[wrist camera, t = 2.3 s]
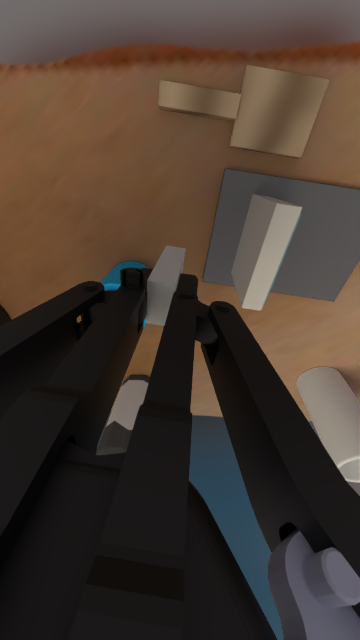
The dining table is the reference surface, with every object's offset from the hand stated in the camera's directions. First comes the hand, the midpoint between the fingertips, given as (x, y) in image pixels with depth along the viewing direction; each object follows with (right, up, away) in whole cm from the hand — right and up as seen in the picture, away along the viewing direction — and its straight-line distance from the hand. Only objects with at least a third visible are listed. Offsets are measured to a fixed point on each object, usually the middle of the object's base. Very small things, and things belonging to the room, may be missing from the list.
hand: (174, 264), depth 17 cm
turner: (+6, +18, +6) cm, 20 cm away
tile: (+10, +6, +12) cm, 16 cm away
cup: (+28, -17, +27) cm, 43 cm away
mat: (+15, +6, +13) cm, 20 cm away
